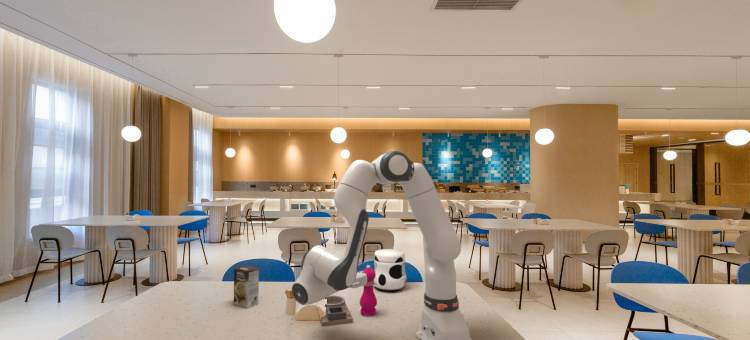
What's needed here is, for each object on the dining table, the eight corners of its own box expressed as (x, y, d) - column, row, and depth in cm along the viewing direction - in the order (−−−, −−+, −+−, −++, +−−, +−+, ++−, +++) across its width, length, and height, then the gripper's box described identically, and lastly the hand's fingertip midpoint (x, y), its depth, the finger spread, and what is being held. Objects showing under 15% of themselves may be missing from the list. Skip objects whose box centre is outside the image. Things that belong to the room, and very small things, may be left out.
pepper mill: (375, 317, 135) (375, 267, 135) (357, 316, 136) (357, 266, 136) (378, 310, 142) (378, 263, 142) (361, 308, 143) (362, 262, 143)
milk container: (368, 283, 176) (368, 249, 176) (399, 280, 181) (399, 247, 181) (378, 295, 159) (378, 257, 160) (411, 291, 164) (412, 255, 165)
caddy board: (352, 322, 130) (352, 312, 130) (321, 326, 127) (322, 315, 127) (343, 303, 149) (343, 294, 149) (316, 306, 146) (316, 296, 146)
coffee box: (232, 304, 147) (233, 268, 147) (244, 300, 153) (245, 264, 153) (247, 308, 143) (247, 271, 143) (259, 303, 148) (259, 267, 149)
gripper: (355, 276, 111) (375, 267, 123) (308, 267, 122) (331, 259, 134) (354, 295, 111) (375, 284, 123) (307, 284, 121) (330, 274, 133)
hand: (352, 271), depth 129 cm, fingers open, 8 cm apart
